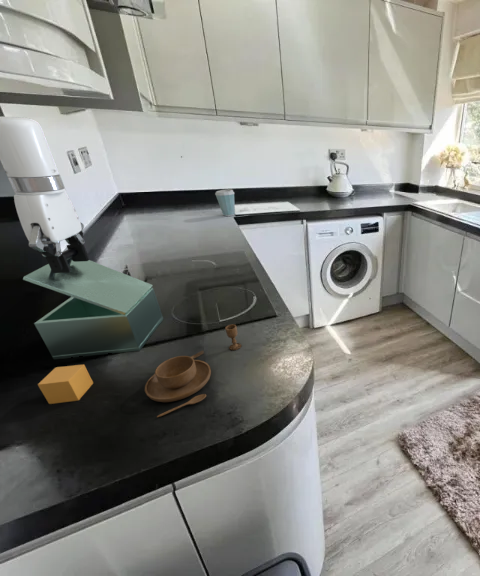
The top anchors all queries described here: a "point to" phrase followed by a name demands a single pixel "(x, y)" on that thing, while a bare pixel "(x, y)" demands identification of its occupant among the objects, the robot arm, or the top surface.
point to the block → (66, 384)
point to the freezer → (98, 328)
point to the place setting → (183, 377)
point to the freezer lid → (92, 284)
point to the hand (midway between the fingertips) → (71, 265)
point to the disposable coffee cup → (226, 201)
